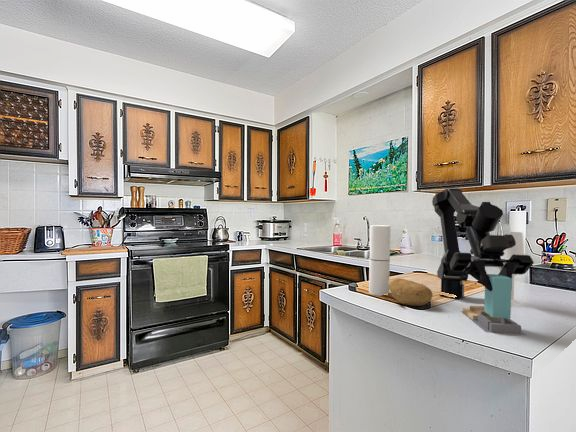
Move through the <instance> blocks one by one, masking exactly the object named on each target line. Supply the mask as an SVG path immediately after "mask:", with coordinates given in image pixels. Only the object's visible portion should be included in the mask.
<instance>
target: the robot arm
mask: <svg viewBox="0 0 576 432" xmlns="http://www.w3.org/2000/svg"><path fill="white" fill-rule="evenodd" d="M431 203H432V206H433V209H434V212H435V214H437V216H438V217H440V218H439V219H440V225H441V232H442V234H441V235H442V239H443V240H442V241H443V242H442V243H443V249H444V254H443V255H442V258H441V260H440V264H439V267H438V269H437V270H436V271H437V272H436V273H437V274H436V275H437V278H438V279H440V280H441V281H440V293H441V292H445V293H449V294H454V295H456V296H457V297H455V300H460V299H461V298H463V297H464V296H465V284H464V281H465V282H467V281H468V279H469V275H470V276H471V277H472V278H474V279H475V280H476V281H477V282H478V283H479V284H481V285H482V286H483V287H484V289H485V288H487V289H488V290H489V291H492V285H491V282H490V280H489V277H488V275H487V274H488V273H487V271H486V268H498V269H499V273H498V274H497V275H504V276H506V277H509V278H511V279H512V274H517V275H521V276H522V275H525V274H526V273H527V272H528V271H529V269H530V268H531V267H532V266H533V264H534V263H535V262H534V260H533V258H532V256H531V255H528V254H524V255H517V254H513V255H512V256H511V258H510V259H509V260H505V259H501V256H503V255H504V250H505V249H508V248H512V247H513V246H515V245H516V242H515V239H514V237H513V236H512V235H507V234H505V235H504V234H502V235H500V234H499V235H498V234H496V235H495V234H491V232H493V231H495V229H496V228H497V226H498V224H499V222H500V220H501V219H502V218H503V214H504V211H503V209H502V208H499V206H497V205H495V204H492V203H491V202H490V201H482V202H481V203H480V205H479V206H477V205H474V204H472V202H470V200H469V199H468V198H467V197H466V196H465V195H464V194H463V191H462V189H461V188H459V187H458V188H457V187H455V188H453V187H452V188H451V187H448V188H444V190H443V191H441V192H438V193H436V194H435V195H434V196H433V197H432V201H431ZM455 212H456V217H455ZM456 223H457V224H458V226H459V227H460V228H466V230H465V237H464V240H465V241H468V243H469V246H470V251H469V252H461V251H460V247H459V246H460V245H459V239H458V234H457V233H458V232H457V226H456ZM472 255H473V256H472ZM511 290H512V285H511Z"/></svg>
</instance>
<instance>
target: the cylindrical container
mask: <svg viewBox="0 0 576 432" xmlns="http://www.w3.org/2000/svg"><path fill="white" fill-rule="evenodd" d="M390 258H391V225H385V224H384V225H382V224H371V225H370V226H369V259H368V261H369V263H368V264H369V265H368V266H369V269H368V270H369V271H368V273H369V274H368V281H369V282H368V294H370V295H373V296H379V297H383V296H382V295H384V294H387V293H389V294H390V288H389V284H390V270H391V269H390V265H391V264H390V263H391V262H390V261H391V259H390Z"/></svg>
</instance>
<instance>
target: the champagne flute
mask: <svg viewBox="0 0 576 432" xmlns="http://www.w3.org/2000/svg"><path fill="white" fill-rule="evenodd" d="M505 234H507V235H512V236H513V237H514V239H515V242H516V245H515V246H513V247H512V248H508V249H505V250H504V255H503V256H500V258H501V259H505V260H509V259H510V258H511V256H512V255H513V254H517V255H525V247H524V246H525V245H524V235H523V232H520V231H504V234H503V235H505ZM516 276H518V274H512V290H511V307H519V308H520V307H525V306H524V305H523V304H522V303H520V302H519V301H517V300H516V299H515V298H514V297H515V277H516Z"/></svg>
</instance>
